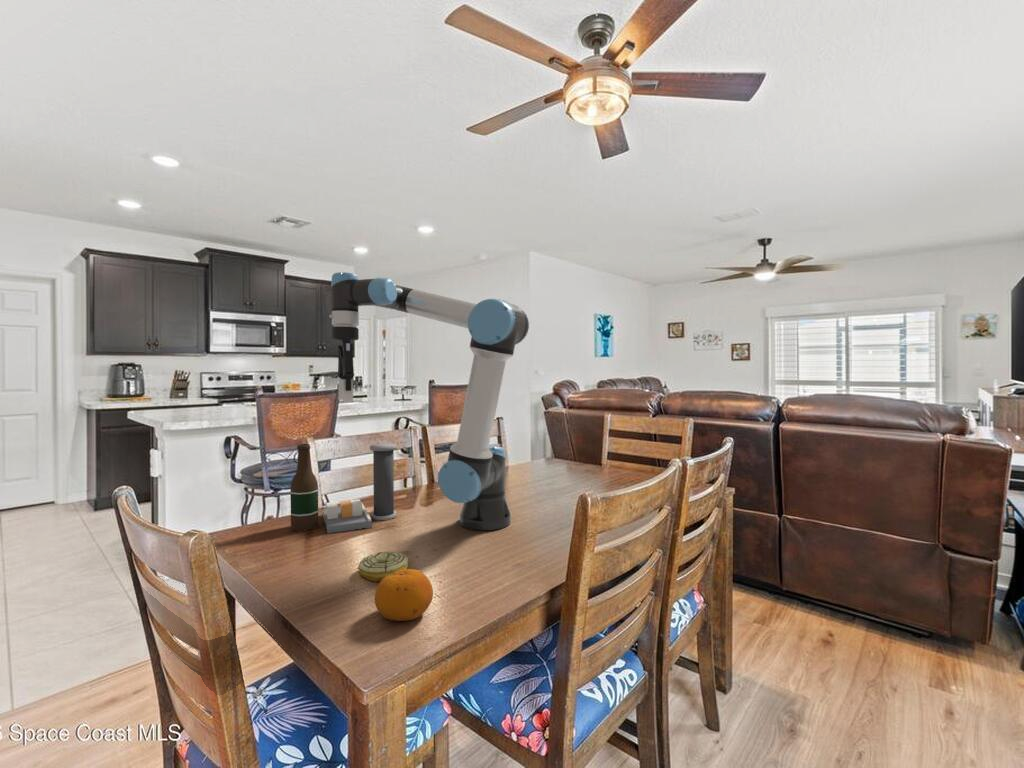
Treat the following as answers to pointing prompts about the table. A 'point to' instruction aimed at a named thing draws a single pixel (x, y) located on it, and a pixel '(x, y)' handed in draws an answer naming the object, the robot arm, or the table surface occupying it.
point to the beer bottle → (304, 493)
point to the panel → (347, 521)
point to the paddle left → (332, 510)
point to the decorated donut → (382, 565)
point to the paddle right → (356, 507)
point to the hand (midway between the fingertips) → (345, 400)
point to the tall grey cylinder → (383, 481)
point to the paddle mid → (346, 508)
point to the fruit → (403, 595)
